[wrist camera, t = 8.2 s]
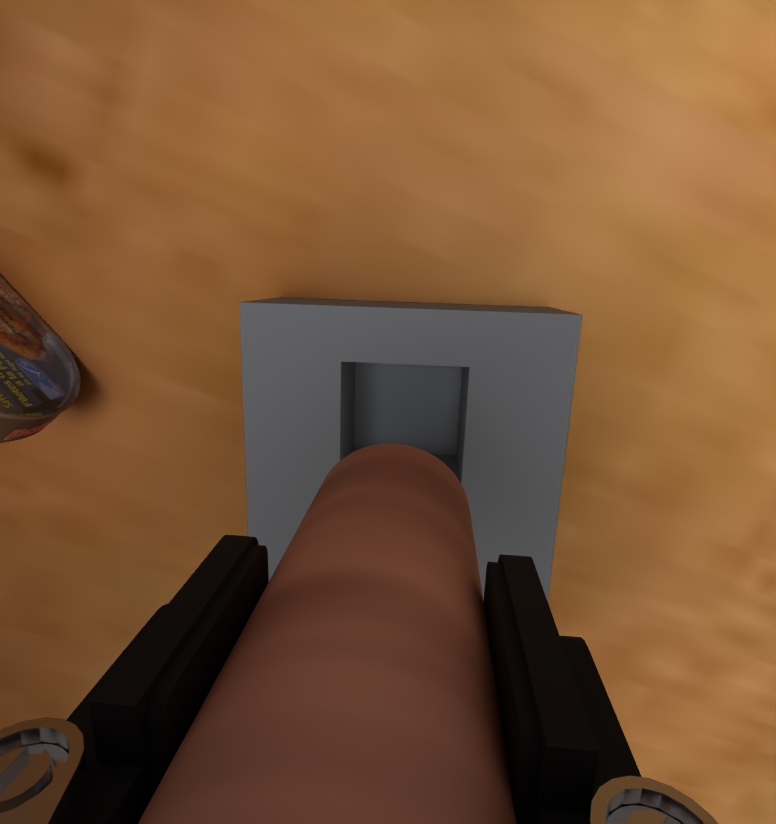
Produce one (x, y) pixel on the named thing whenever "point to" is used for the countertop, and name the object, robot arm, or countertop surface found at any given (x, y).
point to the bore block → (410, 408)
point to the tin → (31, 369)
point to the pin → (357, 670)
